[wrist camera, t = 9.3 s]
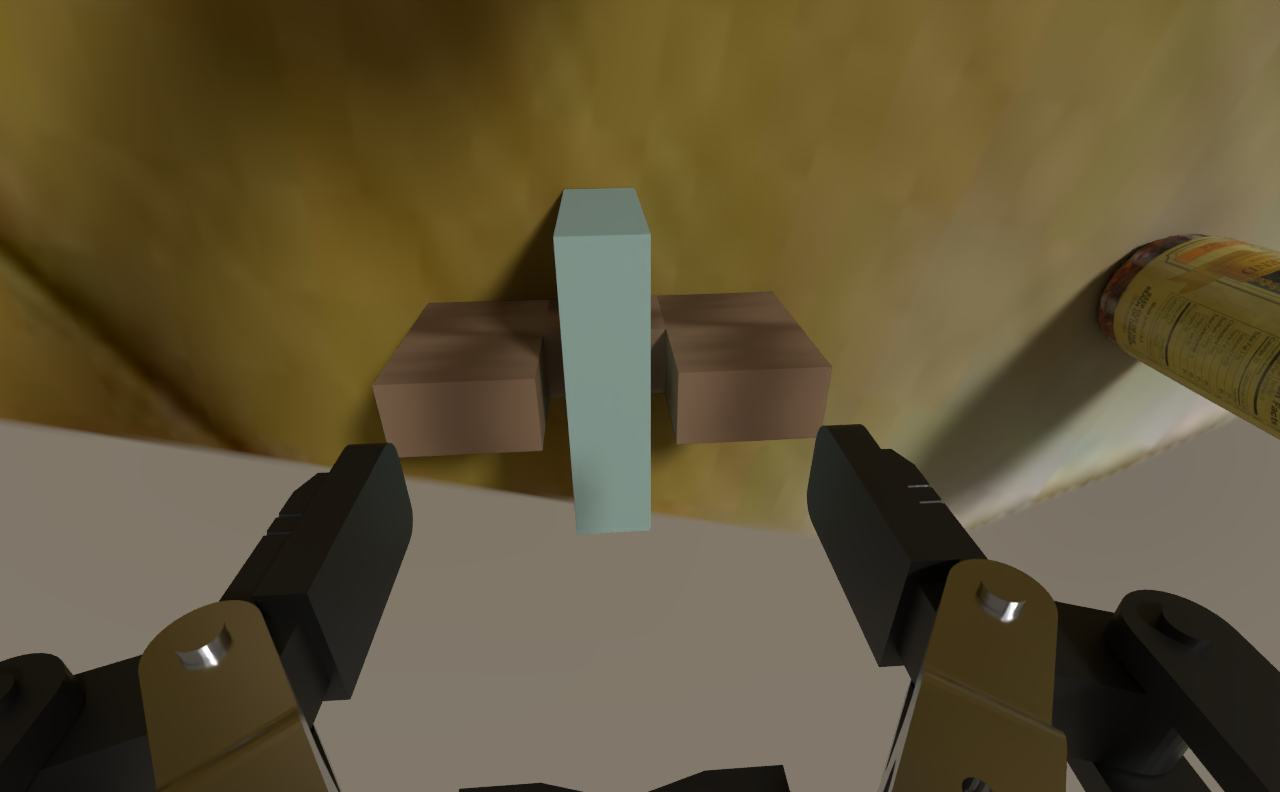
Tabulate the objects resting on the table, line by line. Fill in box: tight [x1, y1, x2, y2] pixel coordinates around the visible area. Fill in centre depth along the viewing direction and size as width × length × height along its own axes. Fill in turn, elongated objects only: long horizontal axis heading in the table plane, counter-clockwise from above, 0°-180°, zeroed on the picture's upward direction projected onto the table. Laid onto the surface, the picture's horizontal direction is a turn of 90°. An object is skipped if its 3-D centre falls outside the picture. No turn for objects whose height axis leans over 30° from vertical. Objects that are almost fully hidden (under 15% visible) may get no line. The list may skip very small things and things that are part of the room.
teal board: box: [553, 188, 651, 534], centre depth 25 cm, size 12×3×8 cm, turn 0°
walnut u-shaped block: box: [372, 292, 832, 457], centre depth 25 cm, size 16×3×8 cm, turn 90°
